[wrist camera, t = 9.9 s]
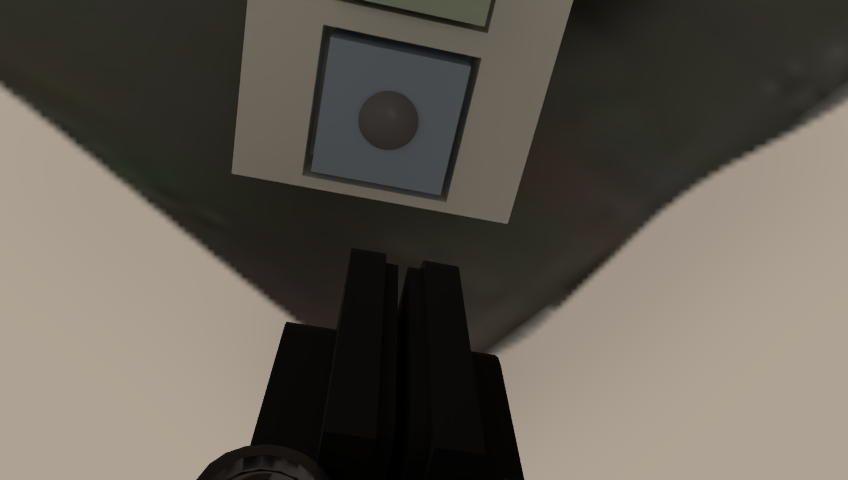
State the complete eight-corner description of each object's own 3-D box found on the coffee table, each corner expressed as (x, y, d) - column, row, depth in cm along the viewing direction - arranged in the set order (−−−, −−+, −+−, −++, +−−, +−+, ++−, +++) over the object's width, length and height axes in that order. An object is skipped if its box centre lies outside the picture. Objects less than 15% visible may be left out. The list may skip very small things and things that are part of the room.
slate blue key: (464, 53, 24) (471, 67, 22) (437, 171, 26) (440, 196, 23) (337, 26, 23) (330, 37, 21) (318, 149, 25) (310, 172, 23)
